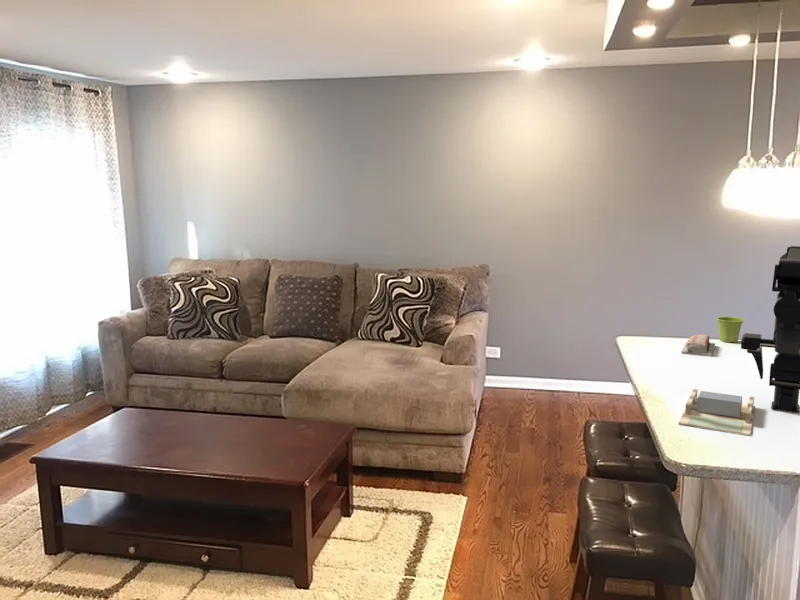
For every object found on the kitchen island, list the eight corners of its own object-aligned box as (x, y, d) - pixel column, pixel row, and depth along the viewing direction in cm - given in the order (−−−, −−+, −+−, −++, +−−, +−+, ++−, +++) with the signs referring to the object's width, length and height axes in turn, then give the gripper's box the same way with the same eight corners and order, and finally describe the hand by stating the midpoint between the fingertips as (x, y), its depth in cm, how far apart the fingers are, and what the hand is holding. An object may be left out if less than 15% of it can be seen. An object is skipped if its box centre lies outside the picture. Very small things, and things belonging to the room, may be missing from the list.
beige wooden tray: (691, 398, 191) (691, 388, 191) (755, 407, 184) (756, 397, 183) (678, 424, 171) (679, 413, 170) (749, 435, 163) (750, 424, 163)
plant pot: (711, 341, 261) (712, 319, 259) (720, 337, 267) (722, 315, 266) (736, 345, 254) (738, 322, 253) (745, 341, 261) (747, 318, 260)
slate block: (699, 405, 184) (700, 390, 183) (741, 411, 179) (742, 396, 178) (697, 411, 179) (698, 396, 178) (739, 417, 174) (740, 402, 173)
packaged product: (712, 344, 237) (681, 341, 242) (711, 357, 238) (681, 354, 242) (716, 334, 253) (687, 332, 257) (715, 347, 254) (686, 344, 258)
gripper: (742, 318, 153) (736, 385, 156) (840, 325, 144) (833, 396, 147) (745, 309, 163) (740, 372, 165) (837, 316, 154) (830, 383, 156)
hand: (784, 381), depth 158 cm, fingers open, 9 cm apart
